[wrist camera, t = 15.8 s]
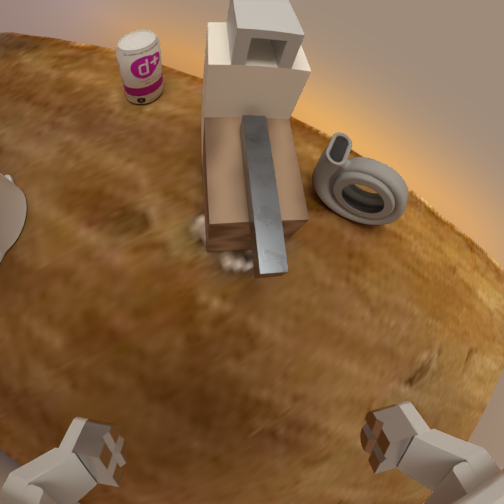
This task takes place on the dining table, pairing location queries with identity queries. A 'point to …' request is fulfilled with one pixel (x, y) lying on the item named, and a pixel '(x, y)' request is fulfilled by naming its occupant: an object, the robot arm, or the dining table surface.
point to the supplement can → (140, 66)
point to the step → (233, 183)
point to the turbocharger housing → (362, 173)
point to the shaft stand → (254, 62)
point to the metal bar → (262, 199)
